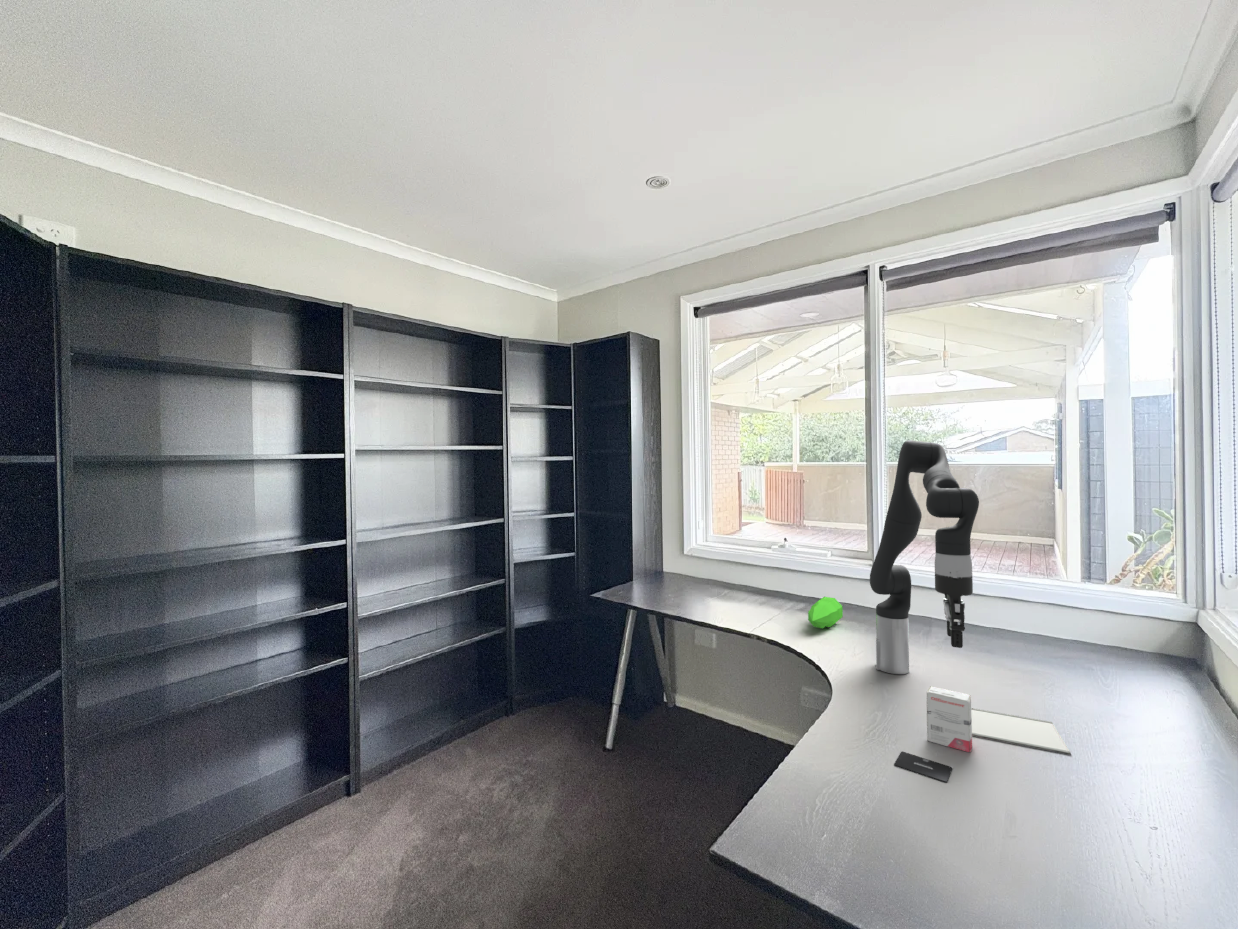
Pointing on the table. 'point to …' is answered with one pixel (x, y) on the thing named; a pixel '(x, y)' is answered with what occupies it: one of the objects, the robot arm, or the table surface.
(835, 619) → the green faceted egg part
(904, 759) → the solid state drive
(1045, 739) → the mat
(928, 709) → the ink box
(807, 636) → the table surface
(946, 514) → the robot arm
